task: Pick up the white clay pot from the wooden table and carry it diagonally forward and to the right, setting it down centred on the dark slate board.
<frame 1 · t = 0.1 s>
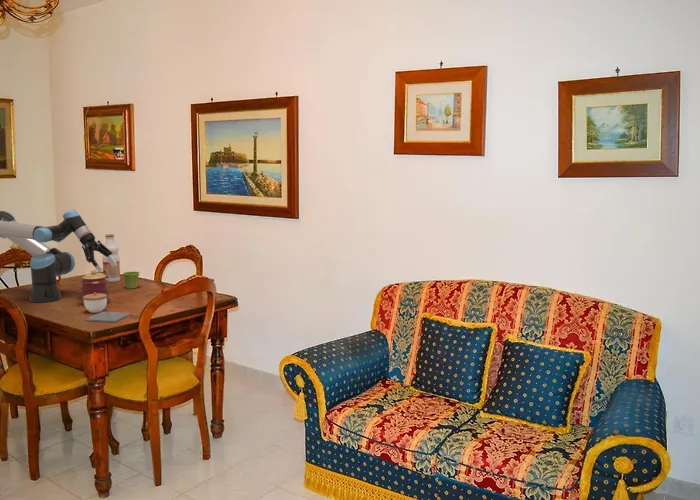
hand: (108, 268, 340), 15 cm above the table, tool tilted 35°, fingers open, 13 cm apart
lidded jar: (95, 311, 311), on the table
slate board: (108, 317, 299), on the table
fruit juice: (112, 281, 384), on the table
plant pot: (131, 288, 364), on the table
canister: (95, 304, 326), on the table
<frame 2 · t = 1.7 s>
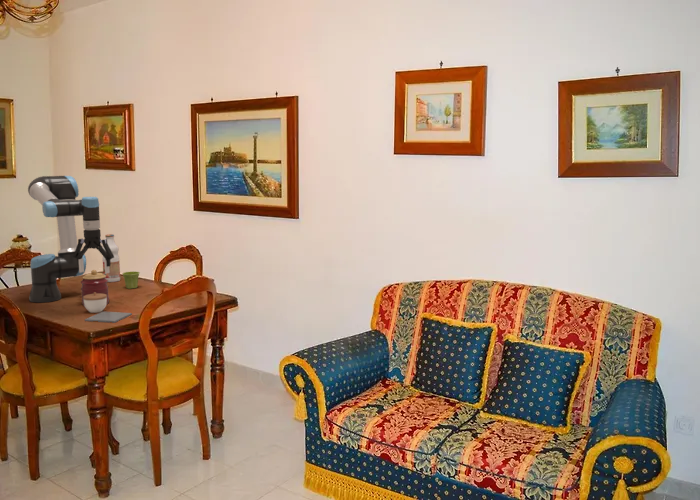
hand: (94, 272, 308), 19 cm above the table, tool pointing down, fingers open, 13 cm apart
nothing on the table moved.
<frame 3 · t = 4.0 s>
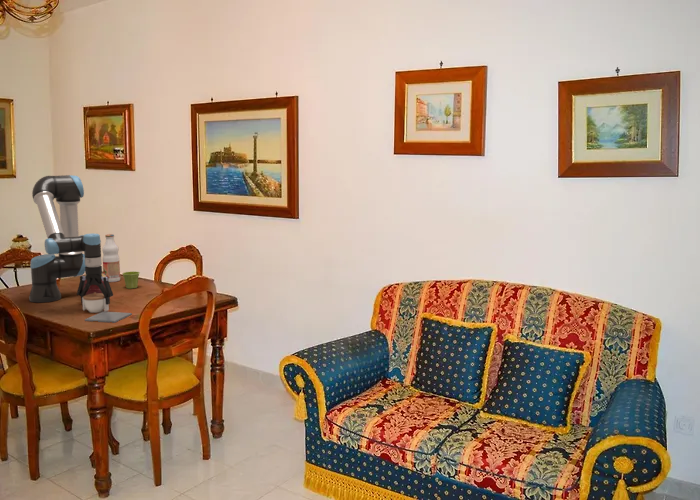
hand: (95, 310, 311), 0 cm above the table, tool pointing down, fingers closed on lidded jar, 11 cm apart
lidded jar: (95, 311, 311), on the table, touching gripper
everything else where it was.
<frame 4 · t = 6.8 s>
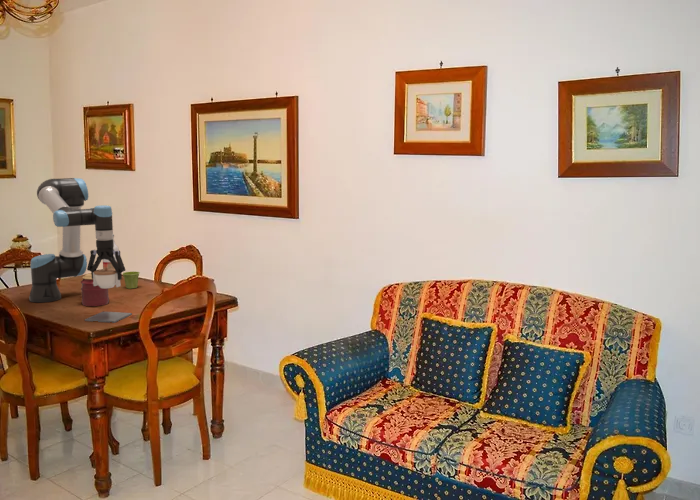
hand: (107, 286, 296), 15 cm above the table, tool pointing down, fingers closed on lidded jar, 11 cm apart
lidded jar: (107, 287, 296), point 14 cm above the table, touching gripper
everything else where it was.
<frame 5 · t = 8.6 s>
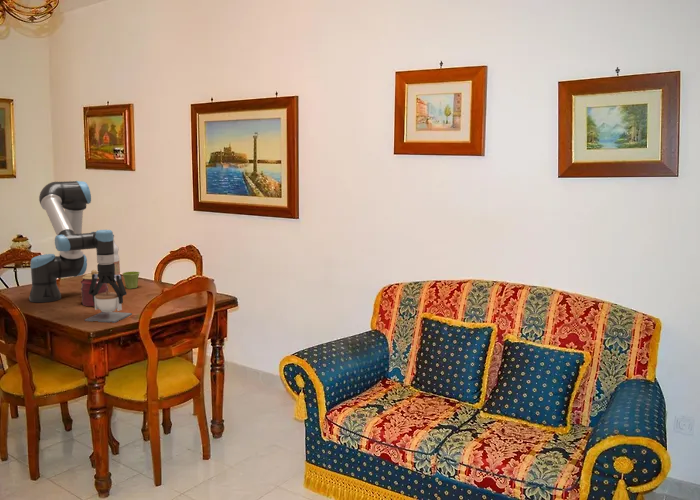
hand: (108, 309, 298), 4 cm above the table, tool pointing down, fingers closed on lidded jar, 11 cm apart
lidded jar: (108, 311, 298), point 3 cm above the table, touching gripper
everything else where it was.
when the fingers open (3 cm above the table, at t = 9.9 s): lidded jar drops 1 cm, resting on slate board.
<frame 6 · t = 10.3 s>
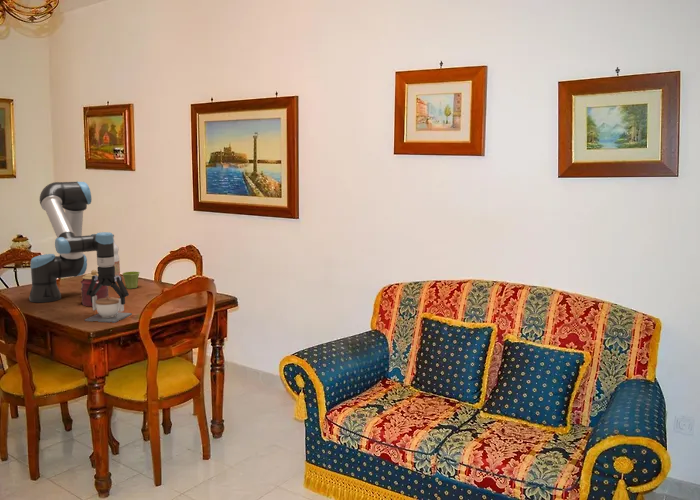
hand: (108, 310, 298), 4 cm above the table, tool pointing down, fingers open, 13 cm apart
lidded jar: (108, 316, 299), point 1 cm above the table, touching slate board
everything else where it was.
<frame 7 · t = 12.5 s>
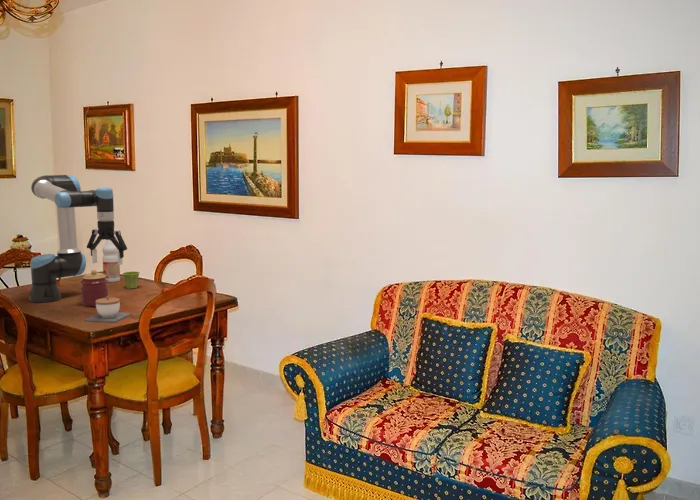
hand: (107, 263, 308), 23 cm above the table, tool pointing down, fingers open, 13 cm apart
nothing on the table moved.
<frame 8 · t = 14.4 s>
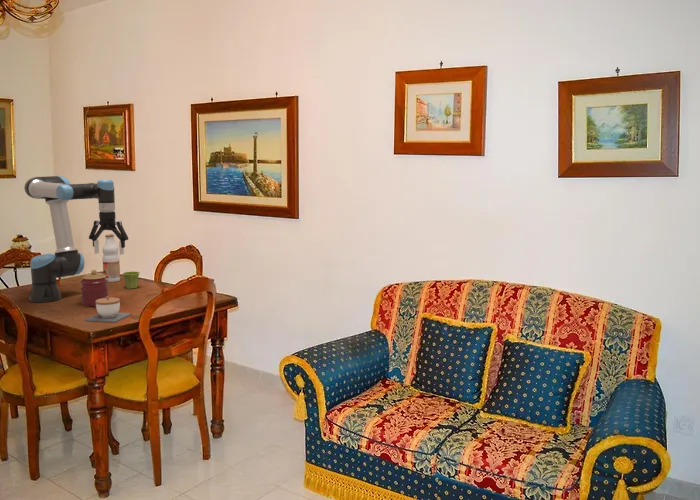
hand: (109, 253, 317), 27 cm above the table, tool pointing down, fingers open, 13 cm apart
nothing on the table moved.
at the end: lidded jar inside the target area on the slate board (0.1 cm from its centre), point 0.6 cm above the slate board's base; lidded jar tilted 0°; the gripper is holding nothing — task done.
